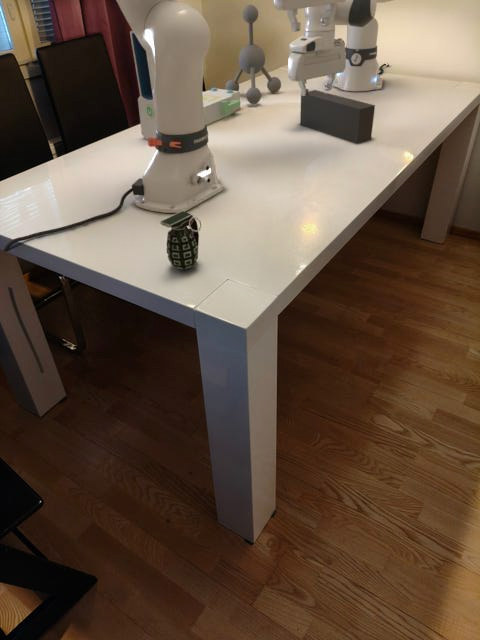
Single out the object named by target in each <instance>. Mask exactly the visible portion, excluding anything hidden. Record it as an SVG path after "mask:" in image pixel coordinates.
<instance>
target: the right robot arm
mask: <svg viewBox="0 0 480 640" xmlns="http://www.w3.org/2000/svg"><path fill="white" fill-rule="evenodd" d="M392 1H394V0H345V2H344V3H337V4H335V9H334V12H333V14H332V16H331V18H330V26H327V27H322V26H321V18H323V17H324V15H325V12H326V9H325V5H322V6H315V7H308V8H304V17H305V25H304V27H303V34H302V35H301V36H299V37H297V38H296V39H295V40H292V41H291V42H290V43H289V51H290V52H291V53H289V56H288V63H287V77H288V79H289V81H292V82H297V83H298V86H299V88H300V96H301V95H302V96H307V95H308V94H309V93H308V92H309V91H310V90H309V88H307V86H306V84H307V81H308V80H312V79H317V78H321V77H326V78H328V79H327V81H326V83H324V88H323V89H324V91H325V92H326V91H327V92H329V91H332V89H333V87H335V88H337V89H340V90H342V91H347V92H367V91H368V92H369V91H373V90H381V89H382V88H383V82H384V81H383V80H384V79H383V77H380V76H381V74H383V73H384V68H383V67H388V68H389V67H390V65H389V63H387V64H388V65H386V64H385V63H383V64H381V66H380V65H379V63H378V59H377V57H378V44H377V43H378V34H379V22H378V20H377V19H376V18H375V15H376V11H377V5H378V4H383V3H384V4H385V3H390V2H392ZM336 26H346V42H345V41H344V39H343V38H341V37H339V38H335V37H336V35H335V34H336ZM379 70H380V71H379ZM336 76H337V81H336V82H335V83H334V81H335V79H336Z"/></svg>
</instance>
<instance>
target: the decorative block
mask: <svg viewBox="0 0 480 640" xmlns="http://www.w3.org/2000/svg"><path fill="white" fill-rule="evenodd" d="M202 92H203V107H204V119H205V125H206V126H207V125H210V124H212V123H215V122H217V121H219V120H221V119H224V118H226V117H228V116H230V115H233V114H235V111H238V110H240V109H241V92H240V90H239V91H232V90H225V88H224V89H222V88H216V87H212V88H211V89H208V90H205V91H202Z"/></svg>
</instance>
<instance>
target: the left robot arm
mask: <svg viewBox="0 0 480 640" xmlns="http://www.w3.org/2000/svg"><path fill="white" fill-rule="evenodd" d="M115 1H116V2H117V5H118V7H119V9H120V11H121V12H122V14H123V16H124V18H125V20H126V23H128V25H129V27H130V28H131V31H132V30H133V32H134V34H135V35H136V37H137V39H138V41H139V42H140V44H141V45H142V47H143V48H144V49H145V50H146V51H147V52H148V53H149V54H151V55H153V56H154V61H155V84H154V90H153V101H154V108H155V114H156V121H157V128H158V129H157V130H156V138H152V137H150V138H149V139H147V146H149V147H151V148H152V147H154V148H155V151H154V153H153V155H152V157H151V159H150V162H149V163H148V165H147V167H146V169H145V172H144V173H143V176H142V178H138V179H137V180H136V181H134V182H133V183H132V184H131V188H129V189H128V190H127V191H125V193H124V194H123V195H122V196H121V198H120V201H119V204H118V206H117V207H116V208H114V209H112V210H111V211H109V212H106V213H102V214H98V215H95V216H92V217H90V218H86V219H84V220H80V221H78V222H74V223H71V224H68V225H64V226H60V227H56V228H51V229H47V230H43V231H38V232H35V233H32V234H28V235H23V236H19V237H16V238H13V239H11V240H10V241H8V242H7V243H6V244H5V246H4V248H3V250H2V252H3V253H5V252H8V251H9V250H10V248H11V246H13V245H14V244H16V243H18V242H23V241H27V240H30V239H33V238H37V237H42V236H46V235H49V234H55V233H59V232H63V231H66V230H70V229H73V228H76V227H79V226H80V227H81V226H83V225H86V224H89V223H91V222H94V221H97V220H100V219H103V218H107V217H110V216H113V215H114V214H116V213H118V212H119V211H120V210H121V209H122V207H123V206H124V202H125V200H126V198H127V197H128V196H129V195H130V194H132V195H133V196H137V197H135V199H134V205H135V206H137V207H138V208H140V209H142V210H143V209H144V210H147V211H151V212H157V213H164V214H177V213H179V212H181V211H184V212H187V211H189V210H190V209H193V208H194V207H196V206H198V205H199V204H201V203H203V202H205V201H207V200H208V199H210V198H212V197H214V196H215V195H217V194H219V193H220V192H222V191H223V185H222V184H220V183H219V180H218V174H217V168H216V163H215V156H214V155H213V153H212V152H211V149H210V147H209V145H208V143H209V130H208V126H207V125H205V119H204V107H203V92H204V91H203V84H204V73H205V62H206V56H207V54H208V52H209V50H210V47H211V42H212V39H211V38H212V35H211V30H210V26H209V24H208V22H207V20H206V19H205V17H204V16H203V14H201V13H200V12H199V11H198V10H197V9H196V8H194V7H193V6H192V5H190V4H188V3H185V2H179V1H177V0H115ZM344 2H345V0H273V6H274V7H275V9H276V11H282V12H285V11H286V12H287V13H286V15H287V18H288V20H289V23H290V31H291V32H300V31H301V25H302V24H301V22H300V21H298V18H297V16H296V15H298V10H299V9H305V8H308V7H315V6H322V5H325V9H326V12H325V15H324V17H323V18H321V26H322V27H327V26H330V18H331V16H332V14H333V12H334V9H335V4H337V3H344ZM7 290H8V294H9V295H8V296H9V298H10V302H11V304H12V307H13V311H14V313H15V316H16V318H17V322H18V323H19V326H20V329H21V330H22V332H23V335H24V337H25V339H26V341H27V343H28V346H29V348H30V350H31V352H32V354H33V356H34V359H35V361H36V364H37V366H38V367H37V368H38V369H39V372H40V373H41V374H44V373H45V370H44V368H43V365H42V363H41V360H40V357H39V355H38V353H37V350H36V348H35V346H34V343H33V341H32V339H31V337H30V335H29V333H28V330H27V328H26V326H25V323H24V321H23V319H22V316H21V314H20V311H19V308H18V305H17V302H16V298H15V295H14V290H13V287H9V286H7Z"/></svg>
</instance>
